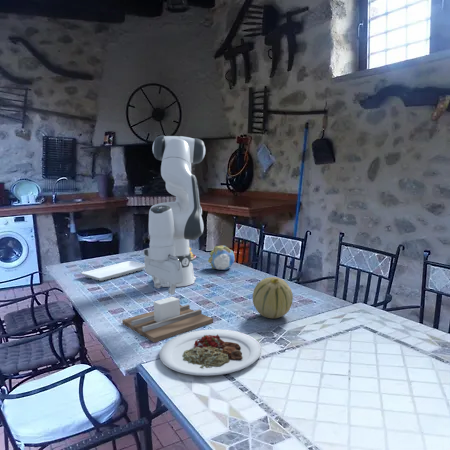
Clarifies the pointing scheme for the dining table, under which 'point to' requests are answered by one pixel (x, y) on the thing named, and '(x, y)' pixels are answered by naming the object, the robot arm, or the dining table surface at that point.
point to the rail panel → (167, 324)
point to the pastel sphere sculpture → (192, 254)
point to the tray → (114, 270)
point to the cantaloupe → (272, 297)
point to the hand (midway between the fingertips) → (164, 290)
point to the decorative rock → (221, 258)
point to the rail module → (166, 308)
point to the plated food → (210, 352)
